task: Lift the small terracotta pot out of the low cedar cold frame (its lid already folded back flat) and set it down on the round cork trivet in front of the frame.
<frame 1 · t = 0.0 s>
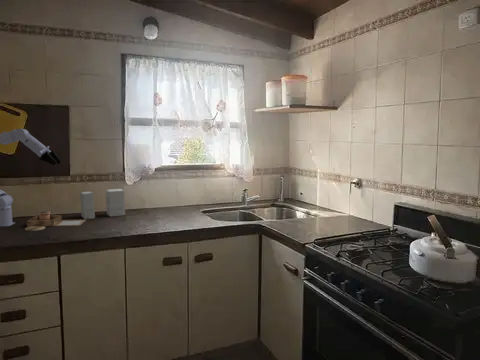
hand: (57, 163, 203), 32 cm above the counter, tool tilted 50°, fingers open, 7 cm apart
skincare box: (87, 218, 223), on the counter
lid: (71, 224, 207), on the counter
supplement box: (115, 215, 233), on the counter
pot: (45, 223, 206), point 1 cm above the counter, touching cold frame
cold frame: (45, 224, 206), on the counter
trivet: (35, 229, 195), on the counter
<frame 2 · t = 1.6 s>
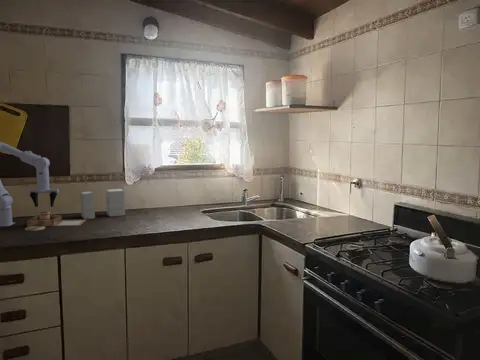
hand: (44, 206, 204), 10 cm above the counter, tool pointing down, fingers open, 7 cm apart
nothing on the counter moved.
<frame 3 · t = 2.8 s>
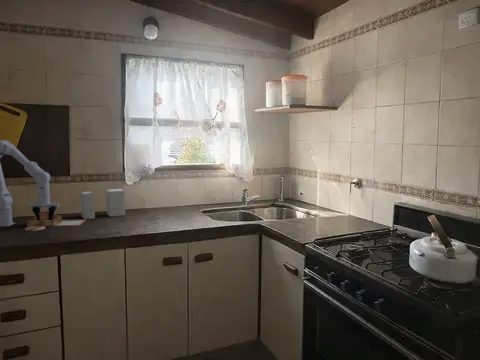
hand: (44, 220, 205), 2 cm above the counter, tool pointing down, fingers closed on pot, 5 cm apart
pot: (45, 223, 206), point 1 cm above the counter, touching cold frame, gripper
everything else where it was.
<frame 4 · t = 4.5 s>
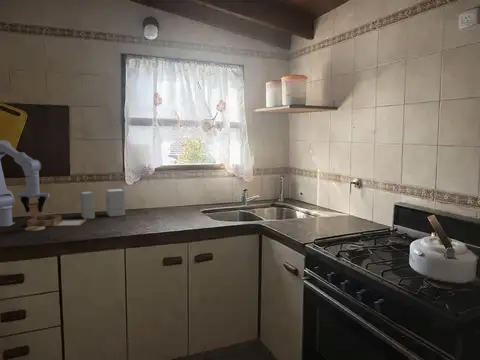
hand: (34, 211, 194), 9 cm above the counter, tool pointing down, fingers closed on pot, 5 cm apart
pot: (36, 215, 195), point 7 cm above the counter, tilted 7°, touching gripper
everything else where it was.
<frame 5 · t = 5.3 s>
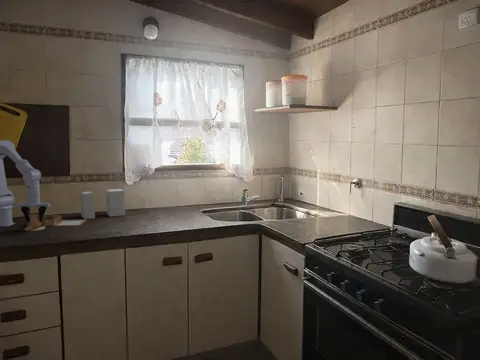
hand: (34, 221, 194), 4 cm above the counter, tool pointing down, fingers closed on pot, 5 cm apart
pot: (36, 225, 195), point 2 cm above the counter, tilted 7°, touching gripper
everything else where it was.
when the fingers open (3 cm above the counter, at t = 6.1 s): pot stays where it is, resting on trivet.
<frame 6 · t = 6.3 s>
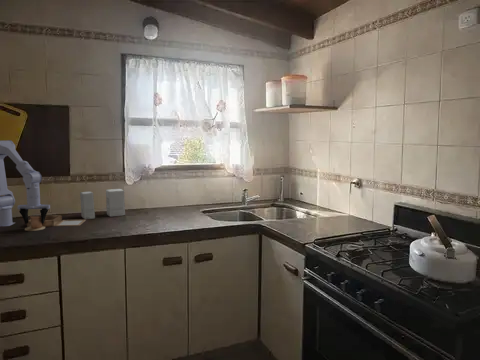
hand: (34, 223, 194), 3 cm above the counter, tool pointing down, fingers open, 7 cm apart
pot: (36, 227, 195), point 1 cm above the counter, touching trivet
everything else where it was.
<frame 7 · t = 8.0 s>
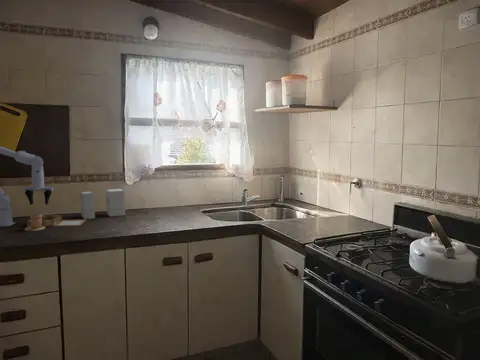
hand: (39, 204, 209), 10 cm above the counter, tool pointing down, fingers open, 7 cm apart
nothing on the counter moved.
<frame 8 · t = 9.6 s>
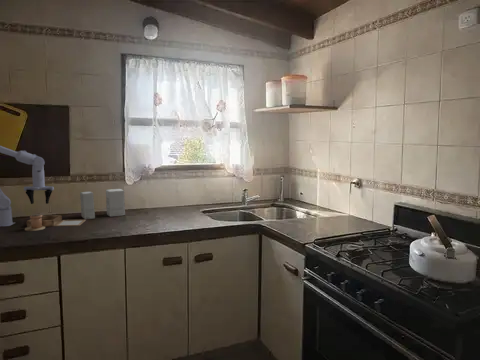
hand: (39, 203, 212), 10 cm above the counter, tool pointing down, fingers open, 7 cm apart
nothing on the counter moved.
at the end: pot 1.0 cm from the trivet (horizontally); pot tilted 0°; pot point 1.0 cm above the counter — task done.
